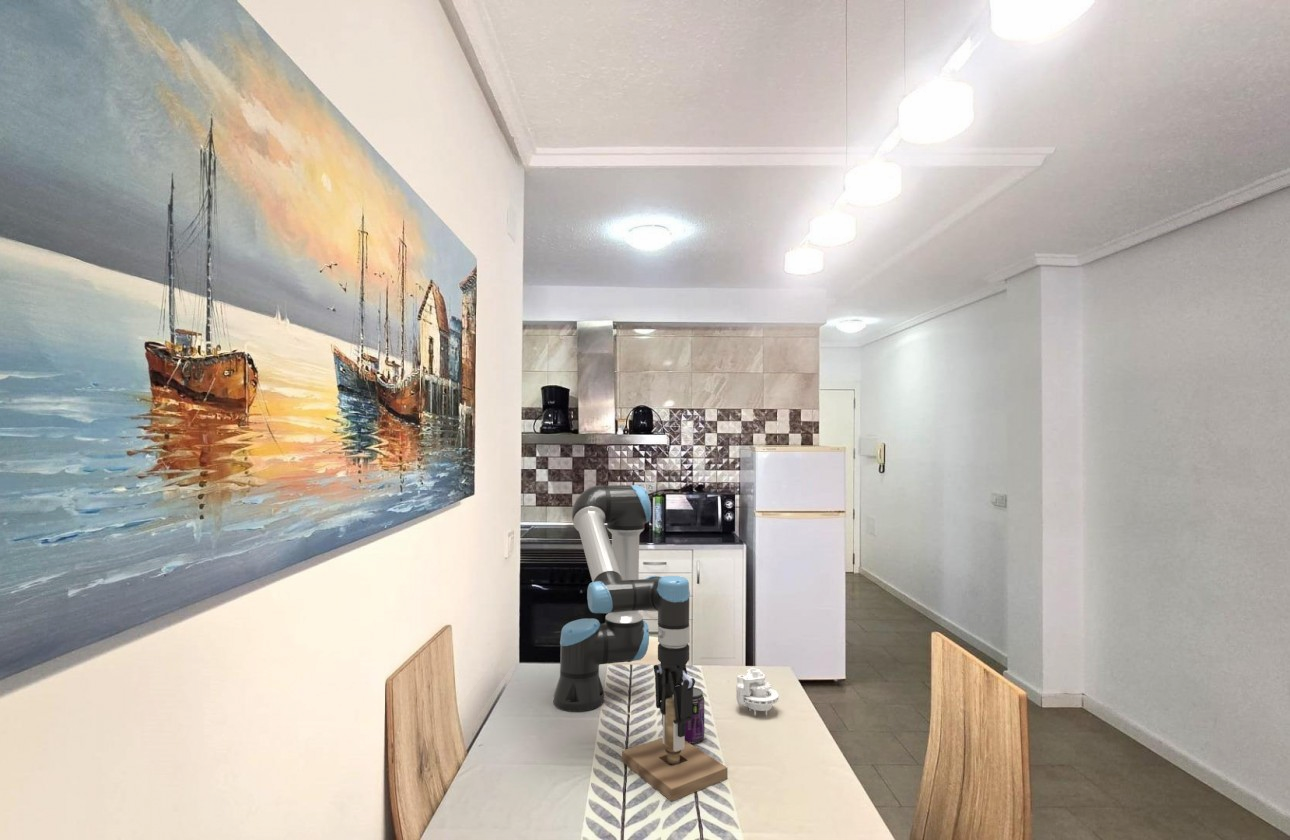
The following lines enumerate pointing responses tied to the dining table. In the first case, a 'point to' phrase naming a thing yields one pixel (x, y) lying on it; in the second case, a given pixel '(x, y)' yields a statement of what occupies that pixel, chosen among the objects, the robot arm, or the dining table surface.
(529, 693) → the dining table surface
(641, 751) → the board
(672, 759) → the peg
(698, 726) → the beverage can
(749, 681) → the mechanical part
